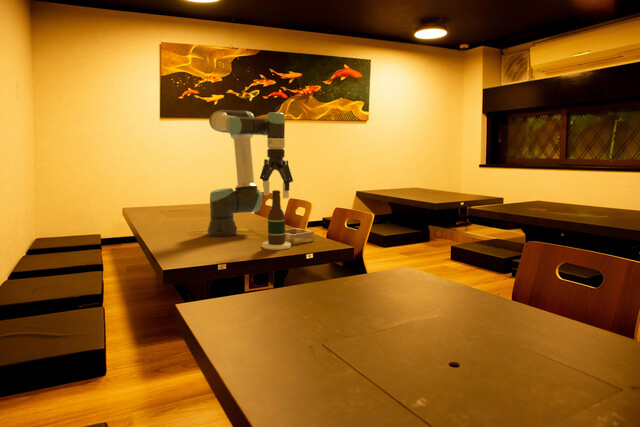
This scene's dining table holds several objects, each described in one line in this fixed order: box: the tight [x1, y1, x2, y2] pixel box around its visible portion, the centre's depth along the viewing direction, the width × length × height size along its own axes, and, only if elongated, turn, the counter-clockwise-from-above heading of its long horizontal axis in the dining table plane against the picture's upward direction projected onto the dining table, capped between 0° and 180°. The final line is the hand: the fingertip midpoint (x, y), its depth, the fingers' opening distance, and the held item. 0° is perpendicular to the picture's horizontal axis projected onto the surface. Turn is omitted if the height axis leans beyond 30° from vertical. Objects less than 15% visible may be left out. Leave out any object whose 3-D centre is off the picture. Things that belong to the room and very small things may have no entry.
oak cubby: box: [285, 227, 315, 246], centre depth 212 cm, size 13×13×4 cm
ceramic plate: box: [261, 240, 292, 251], centre depth 199 cm, size 13×13×2 cm
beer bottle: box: [267, 189, 286, 245], centre depth 197 cm, size 8×8×24 cm
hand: (275, 196), depth 196 cm, fingers open, 13 cm apart
